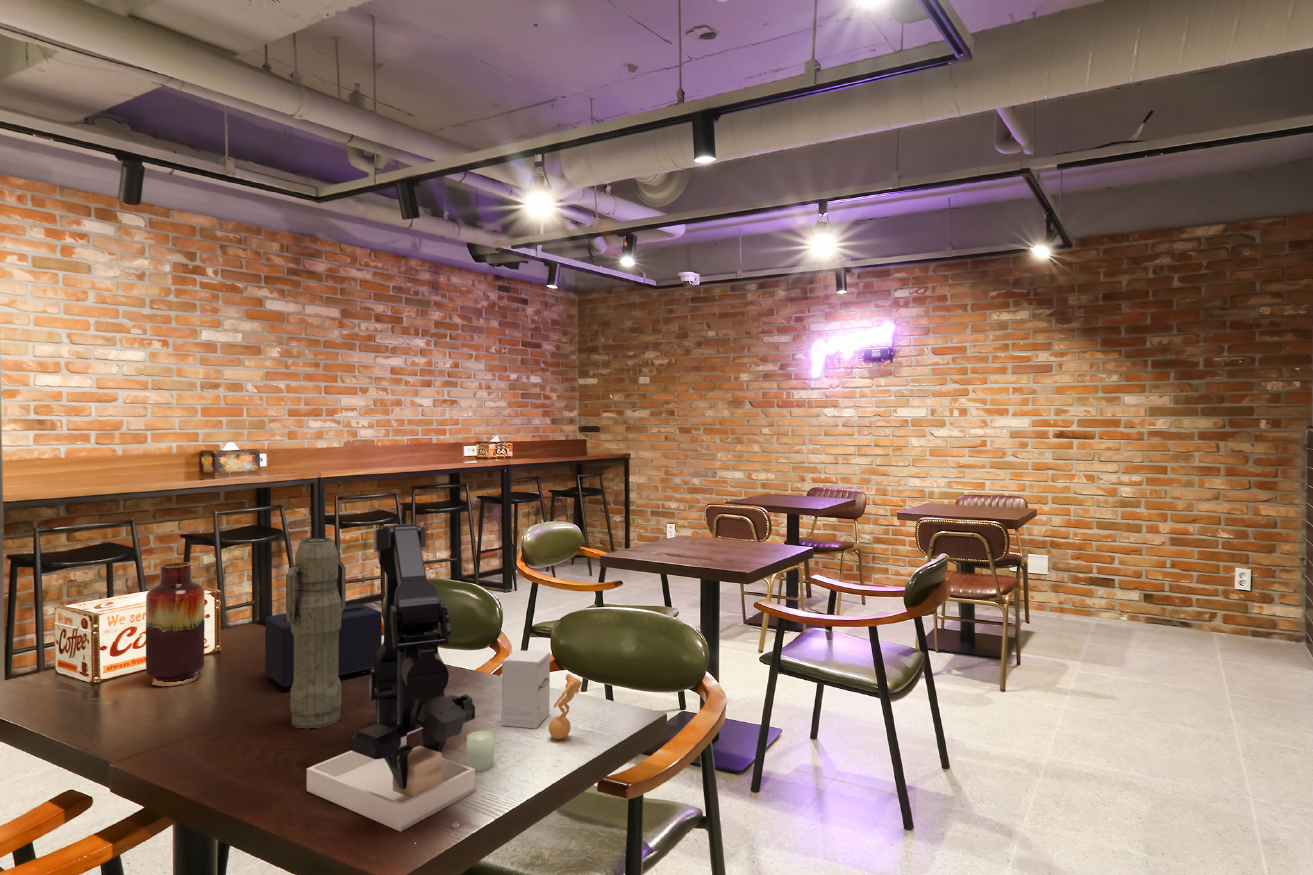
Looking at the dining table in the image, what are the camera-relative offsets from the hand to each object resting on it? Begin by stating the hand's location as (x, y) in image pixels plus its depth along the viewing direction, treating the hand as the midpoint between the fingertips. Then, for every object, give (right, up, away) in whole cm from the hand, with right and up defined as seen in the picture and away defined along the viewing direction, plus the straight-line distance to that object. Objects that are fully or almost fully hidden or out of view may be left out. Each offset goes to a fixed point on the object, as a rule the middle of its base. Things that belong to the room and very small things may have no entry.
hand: (417, 781), depth 112 cm
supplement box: (+11, -3, +32) cm, 34 cm away
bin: (-5, -3, +3) cm, 7 cm away
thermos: (-30, -3, +32) cm, 44 cm away
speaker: (-40, -3, +58) cm, 71 cm away
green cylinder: (+7, -3, +12) cm, 14 cm away
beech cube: (0, -1, 0) cm, 1 cm away
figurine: (+19, -3, +23) cm, 30 cm away
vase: (-72, -3, +55) cm, 90 cm away
